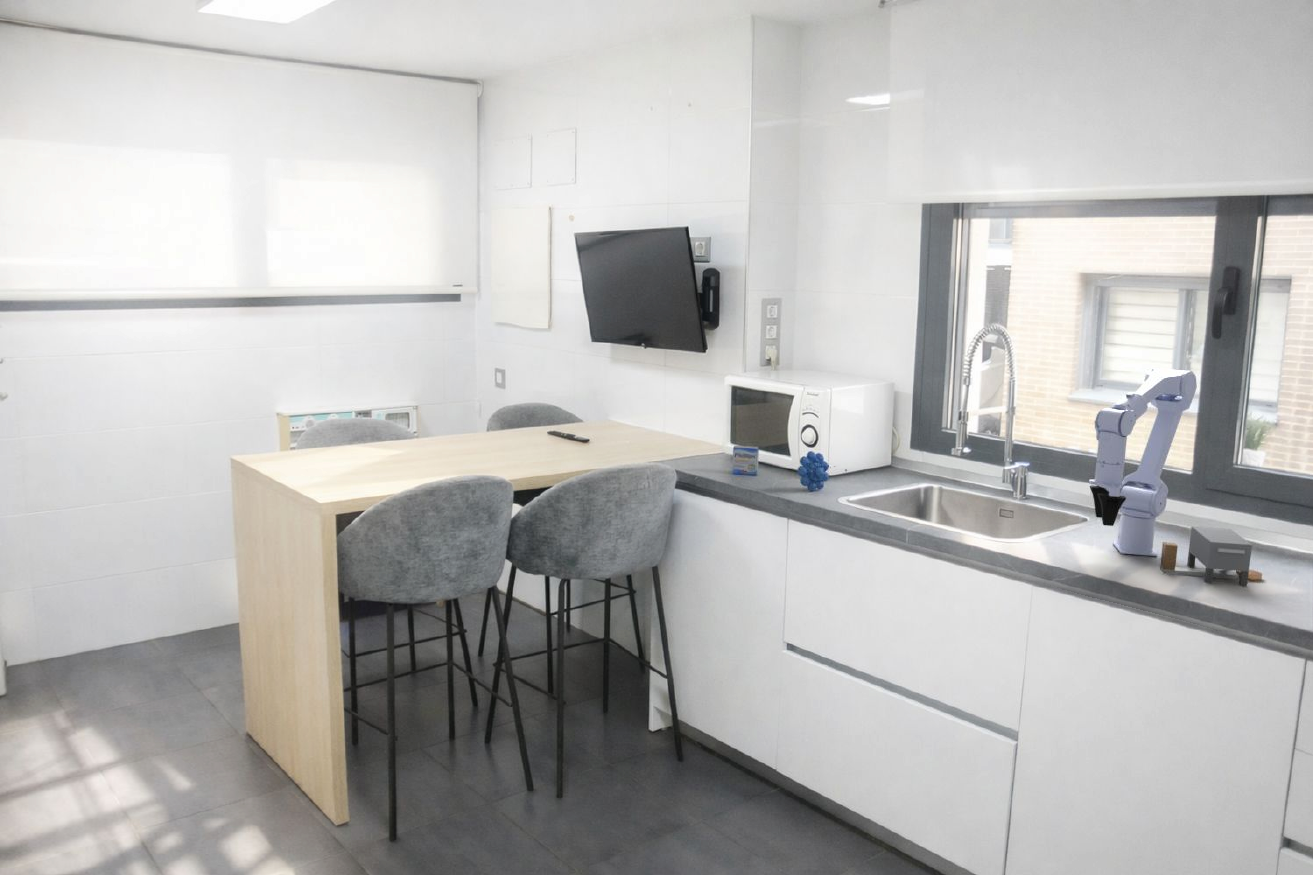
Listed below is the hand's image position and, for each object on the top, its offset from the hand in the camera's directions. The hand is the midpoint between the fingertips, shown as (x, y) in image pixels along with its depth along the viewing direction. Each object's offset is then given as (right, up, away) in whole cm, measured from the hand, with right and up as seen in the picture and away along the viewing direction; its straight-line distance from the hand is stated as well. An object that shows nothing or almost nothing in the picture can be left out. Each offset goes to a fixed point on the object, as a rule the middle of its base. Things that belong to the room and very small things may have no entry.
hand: (1104, 521), depth 233 cm
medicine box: (-73, +7, +92) cm, 118 cm away
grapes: (-55, +3, +68) cm, 87 cm away
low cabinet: (+21, -11, -7) cm, 25 cm away
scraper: (+18, -11, -6) cm, 22 cm away
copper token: (+28, -12, -8) cm, 31 cm away
